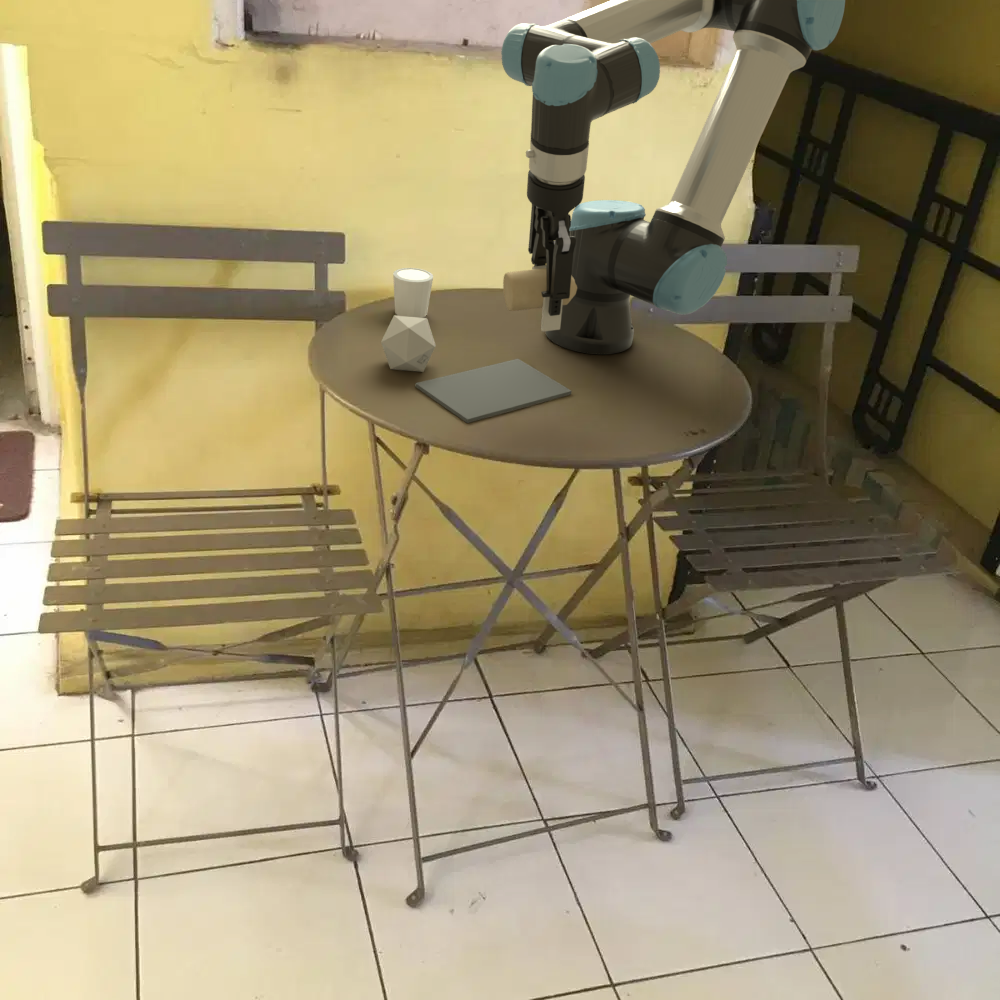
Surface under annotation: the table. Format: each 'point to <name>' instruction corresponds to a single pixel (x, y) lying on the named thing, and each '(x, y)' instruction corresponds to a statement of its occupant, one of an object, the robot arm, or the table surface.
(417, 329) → the die
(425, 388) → the mat
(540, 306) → the candle
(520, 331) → the table surface
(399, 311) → the shot glass
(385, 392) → the table surface
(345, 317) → the table surface
